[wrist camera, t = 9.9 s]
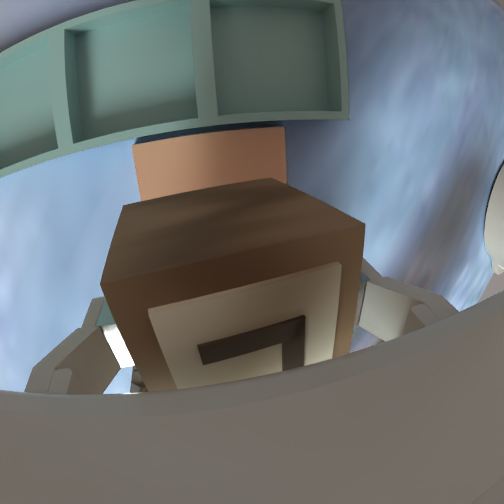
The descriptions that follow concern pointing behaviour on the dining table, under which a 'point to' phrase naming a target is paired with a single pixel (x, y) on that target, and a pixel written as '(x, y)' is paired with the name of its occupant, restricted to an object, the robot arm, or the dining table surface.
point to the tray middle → (131, 72)
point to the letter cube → (232, 283)
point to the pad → (209, 160)
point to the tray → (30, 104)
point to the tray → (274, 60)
